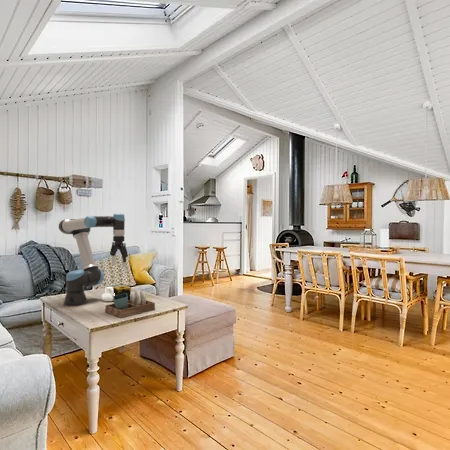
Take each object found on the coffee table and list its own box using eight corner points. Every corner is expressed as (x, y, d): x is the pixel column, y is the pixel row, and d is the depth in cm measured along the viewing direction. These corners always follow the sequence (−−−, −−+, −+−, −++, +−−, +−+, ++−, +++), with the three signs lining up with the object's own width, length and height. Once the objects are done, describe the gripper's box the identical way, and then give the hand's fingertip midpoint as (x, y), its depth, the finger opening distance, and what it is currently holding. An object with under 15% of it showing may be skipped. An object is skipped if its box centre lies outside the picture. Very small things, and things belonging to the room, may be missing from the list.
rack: (105, 312, 213) (105, 293, 213) (139, 304, 233) (139, 287, 233) (120, 317, 201) (120, 298, 201) (154, 309, 221) (154, 291, 221)
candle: (112, 300, 245) (112, 287, 245) (126, 298, 252) (126, 285, 251) (117, 303, 237) (117, 289, 237) (130, 301, 243) (130, 287, 243)
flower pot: (115, 313, 208) (113, 300, 207) (115, 308, 217) (113, 295, 215) (129, 310, 211) (127, 297, 209) (129, 305, 219) (126, 292, 218)
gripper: (105, 235, 234) (104, 264, 234) (123, 236, 217) (123, 268, 218) (114, 234, 239) (114, 263, 240) (133, 236, 223) (133, 267, 223)
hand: (118, 266), depth 229 cm, fingers open, 13 cm apart
